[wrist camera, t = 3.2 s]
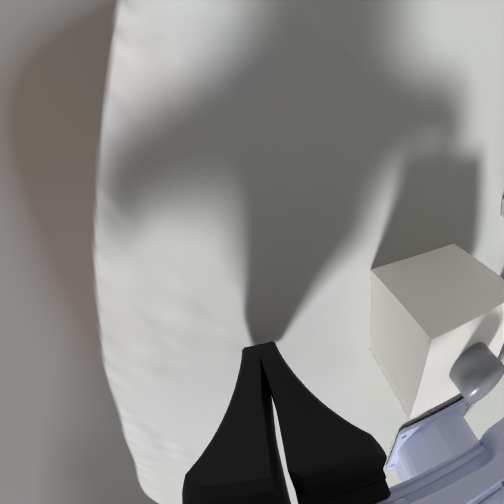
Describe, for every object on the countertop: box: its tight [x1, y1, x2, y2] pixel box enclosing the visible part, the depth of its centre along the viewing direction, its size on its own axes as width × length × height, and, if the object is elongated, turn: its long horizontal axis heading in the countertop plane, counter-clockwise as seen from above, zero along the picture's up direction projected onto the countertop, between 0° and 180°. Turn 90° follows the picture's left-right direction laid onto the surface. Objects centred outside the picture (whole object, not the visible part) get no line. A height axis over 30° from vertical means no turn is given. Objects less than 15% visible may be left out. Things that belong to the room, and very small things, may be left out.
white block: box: [369, 243, 504, 419], centre depth 11 cm, size 5×5×6 cm
